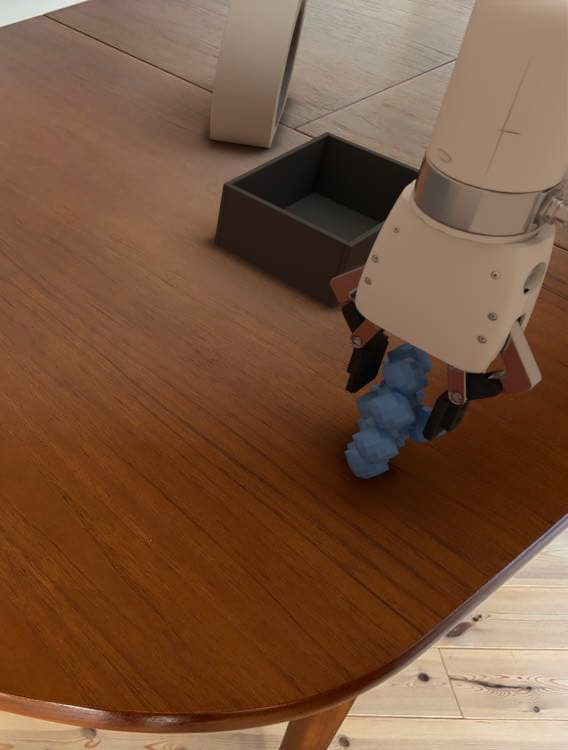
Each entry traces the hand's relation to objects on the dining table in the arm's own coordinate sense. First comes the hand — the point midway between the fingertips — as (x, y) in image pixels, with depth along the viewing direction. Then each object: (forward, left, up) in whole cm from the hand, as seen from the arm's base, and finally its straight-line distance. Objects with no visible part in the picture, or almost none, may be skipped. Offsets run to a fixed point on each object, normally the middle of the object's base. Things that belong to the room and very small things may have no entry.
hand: (398, 404), depth 64 cm
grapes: (0, 0, -7) cm, 7 cm away
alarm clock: (+46, -40, -7) cm, 61 cm away
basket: (+22, -23, -7) cm, 33 cm away
